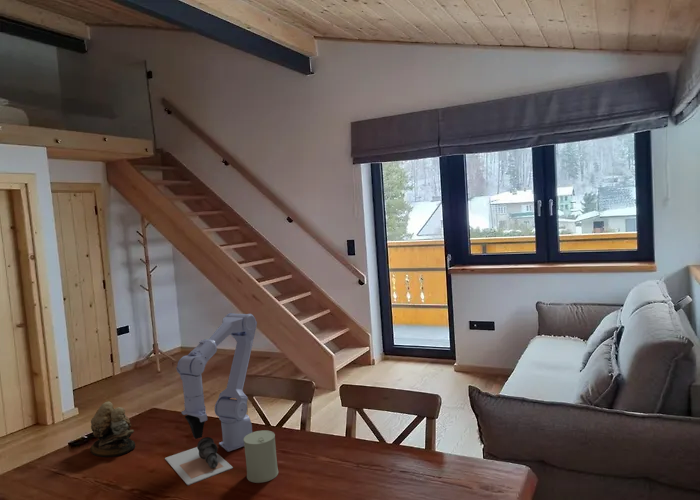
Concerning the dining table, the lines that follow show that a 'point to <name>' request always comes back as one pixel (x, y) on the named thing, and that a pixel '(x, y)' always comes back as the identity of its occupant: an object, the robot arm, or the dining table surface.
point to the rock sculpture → (111, 431)
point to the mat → (195, 466)
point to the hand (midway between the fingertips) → (198, 437)
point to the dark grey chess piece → (208, 451)
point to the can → (260, 456)
